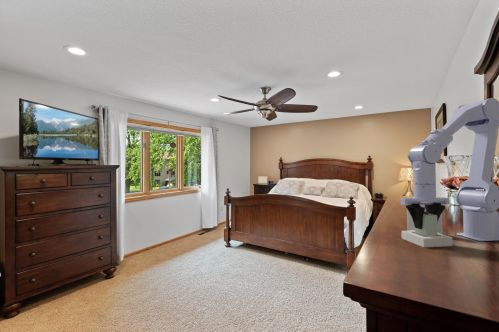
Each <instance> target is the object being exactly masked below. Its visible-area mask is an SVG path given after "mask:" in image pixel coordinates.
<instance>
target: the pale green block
mask: <svg viewBox="0 0 499 332" xmlns="http://www.w3.org/2000/svg"><path fill="white" fill-rule="evenodd" d="M415 233H418V234H421V235H424V236H434V235H438V230H437V215H433V214H429V213H428V212H427V211H424V214H423V226H422V229H418V228H415Z"/></svg>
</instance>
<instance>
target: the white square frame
mask: <svg viewBox="0 0 499 332" xmlns="http://www.w3.org/2000/svg"><path fill="white" fill-rule="evenodd" d="M401 239H402V240H404V241H407V242H410V243H411V244H414V245H417V246H420V247H422V248H435V247H436V248H438V247H440V248H442V247H453V245H454V244H453V239H454V238H453V237H452V236H450V235H447V234H443V233H442V234H440V233H438V235H434V236H424V235H421V234H418V233H415V230H409V231H408V230H401Z"/></svg>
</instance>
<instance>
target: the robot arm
mask: <svg viewBox="0 0 499 332" xmlns="http://www.w3.org/2000/svg"><path fill="white" fill-rule="evenodd" d="M463 127H465V128H466V129H467V130H469V131H472V132H473V133H474V134H475V135H474V142H473V147H472V154H471V159H470V160H471V161H470V167H469V173H468V178H467V179H466V180H465V181H463V182H462V183H460V184H459V189H458V190H457V192H456V193H455V194H456V195H455V200H456V203H457V204H458V206H460V209H462V221H463V223H462V225H463V228H462V229H463V232H455V233H456V235H458V236H460V237H465V238H467V239H471V240H475V241H478V242H486V241H487V242H489V241H494V242H495V241H499V211H497V210H498V209H499V186H498V185H497V184H495V183H494V182H493V181H492V175H493V170H494V169H493V167H494V161H495V154H496V148H497V141H498V135H499V100H498V99H496V97H495V98H494V97H490V98H487V99H484V100H483V99H482V100H481V101H475V102H472V103H467V104H461V105H459V106H458V107H457V108H456V109H455V110H453V115H452V116H451V118H450V119H449V120H447V122H446V123H445V124H444V125H443V126H442V127H441V128H436V129H433V130H431V131H430V132H429V133H430V134H429V135H428V136H427V137H426V138H425V139H424V140H422V141H421V142H420V143H419V145H414V146H413V147H411V149H410V150H409V152H408V154H407V159H408V161H409V162H410V168H411V169H412V180H413V181H412V184H413V185H412V187H413V188H412V189H413V191H412V192H413V196H412V197H403V198H400V205H401V206H405V208H406V210H407V209H408V211H409V213H410V215H411V217H412V219H413V222H414V226H415V228H418V229H422V226H423V214H424V211H425V208H426V211H427V212H428V213H429V214H433V215H437V223H438V220H439V217H440V215H441V214H442V213H443V212H444V211H445V210H446V205H450V197H442V196H441V197H438V196H437V174H436V173H437V172H436V171H437V170H436V168H437V166H436V163H437V162H439V161H440V160H441V157H442V153H443V151H444V150H445V149H446V148H447V147H448V146H449V145H450V144H451V142H452V141H454V134H456V133H457V132H458V131H460V129H462V128H463ZM421 202H429V203H421ZM420 205H424V206H425V207H421V206H420Z"/></svg>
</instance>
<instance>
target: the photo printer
mask: <svg viewBox="0 0 499 332" xmlns="http://www.w3.org/2000/svg"><path fill="white" fill-rule="evenodd" d="M421 203H429V202H421ZM420 206H421V207H425V206H424V205H420ZM425 211H426V208H425ZM406 223H407V225H406V226H407V229H406V230H407V231H409V230H415V226H414V222H413V219H412V217H411V215H410V213H409V211H408V209H407V208H406ZM437 230H438V233H440V234H443V216H442V214H441V215H440V217H439V220H438V223H437Z"/></svg>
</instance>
